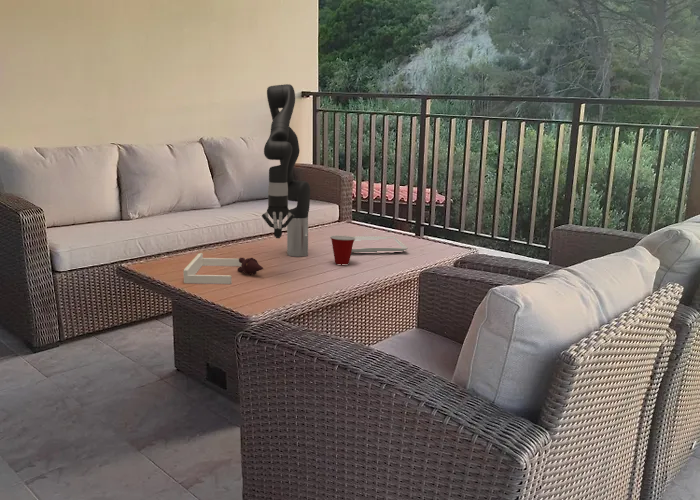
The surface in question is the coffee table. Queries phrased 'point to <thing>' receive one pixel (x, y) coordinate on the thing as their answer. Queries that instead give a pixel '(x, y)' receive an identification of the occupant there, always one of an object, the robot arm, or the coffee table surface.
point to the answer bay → (200, 261)
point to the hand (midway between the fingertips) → (277, 237)
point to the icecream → (249, 266)
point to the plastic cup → (342, 248)
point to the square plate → (359, 238)
